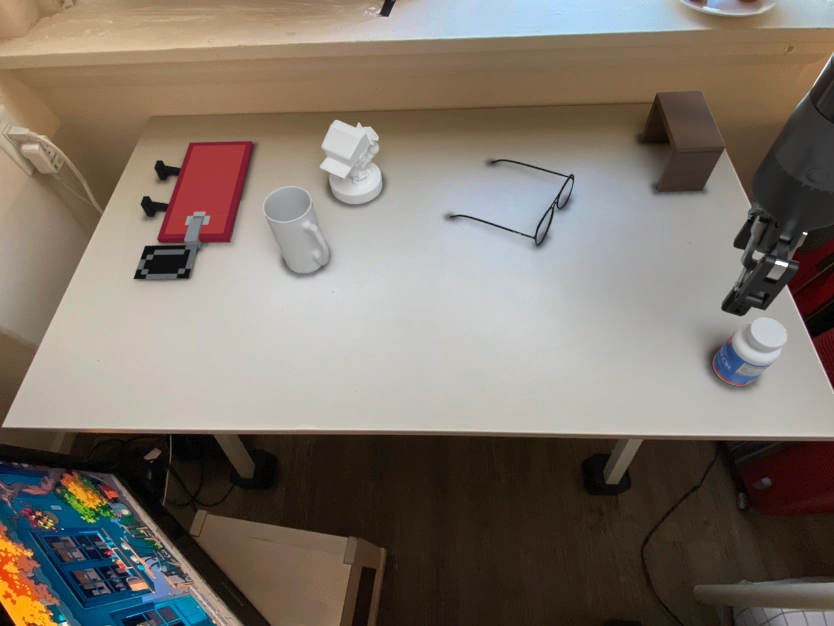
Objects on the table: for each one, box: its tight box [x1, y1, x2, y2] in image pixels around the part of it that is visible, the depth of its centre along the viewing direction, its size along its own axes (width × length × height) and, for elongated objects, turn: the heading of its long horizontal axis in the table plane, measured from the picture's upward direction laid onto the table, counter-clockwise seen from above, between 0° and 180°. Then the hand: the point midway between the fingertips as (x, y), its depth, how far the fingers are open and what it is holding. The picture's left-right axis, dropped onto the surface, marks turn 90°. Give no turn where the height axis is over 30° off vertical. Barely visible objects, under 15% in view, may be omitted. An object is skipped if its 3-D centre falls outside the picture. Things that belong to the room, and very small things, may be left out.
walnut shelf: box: [640, 89, 727, 193], centre depth 89 cm, size 13×7×9 cm, turn 0°
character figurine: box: [319, 119, 383, 205], centre depth 89 cm, size 9×10×12 cm
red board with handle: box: [132, 140, 254, 280], centre depth 92 cm, size 30×3×15 cm
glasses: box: [449, 158, 575, 247], centre depth 88 cm, size 14×15×5 cm
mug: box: [262, 185, 330, 274], centre depth 80 cm, size 10×7×12 cm, turn 48°
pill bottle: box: [712, 316, 788, 387], centre depth 69 cm, size 6×5×10 cm
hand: (737, 277), depth 56 cm, fingers open, 8 cm apart
